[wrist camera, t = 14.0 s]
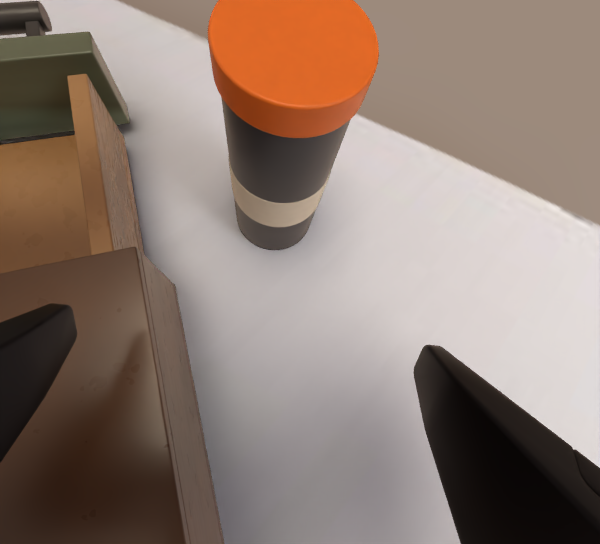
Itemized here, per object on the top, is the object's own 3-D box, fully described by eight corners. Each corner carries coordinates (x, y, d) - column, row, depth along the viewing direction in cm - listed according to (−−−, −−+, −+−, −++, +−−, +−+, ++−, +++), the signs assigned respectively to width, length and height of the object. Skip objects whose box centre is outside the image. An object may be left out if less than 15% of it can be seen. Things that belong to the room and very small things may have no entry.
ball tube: (328, 223, 20) (413, 58, 9) (267, 268, 18) (282, 139, 8) (280, 167, 20) (307, -50, 10) (217, 207, 19) (170, 10, 8)
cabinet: (-97, 346, 15) (-311, 334, 9) (175, 284, 17) (135, 245, 12) (-97, 713, 12) (-413, 1025, 6) (231, 581, 14) (216, 724, 9)
